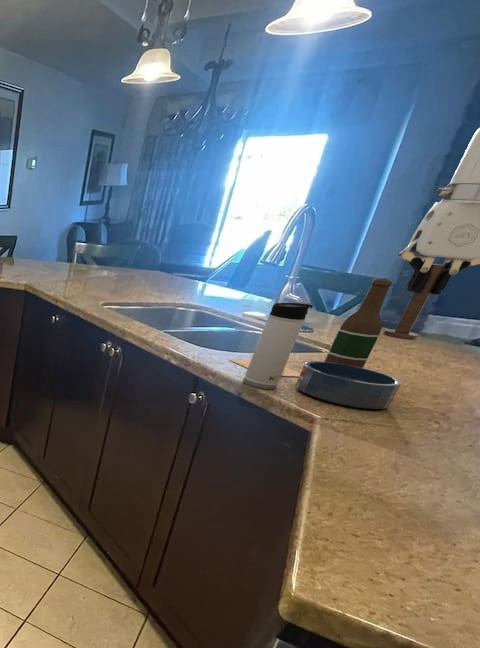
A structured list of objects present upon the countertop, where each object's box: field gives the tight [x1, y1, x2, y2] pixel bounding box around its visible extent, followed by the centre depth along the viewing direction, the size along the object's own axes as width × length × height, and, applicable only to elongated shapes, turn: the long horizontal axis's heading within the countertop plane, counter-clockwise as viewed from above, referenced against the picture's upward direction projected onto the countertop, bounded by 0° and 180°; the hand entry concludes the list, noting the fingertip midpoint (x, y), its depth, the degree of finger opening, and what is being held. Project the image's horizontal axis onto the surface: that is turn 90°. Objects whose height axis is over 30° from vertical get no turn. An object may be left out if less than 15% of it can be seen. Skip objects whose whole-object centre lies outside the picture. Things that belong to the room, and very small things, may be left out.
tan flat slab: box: [229, 359, 301, 377], centre depth 128 cm, size 12×12×4 cm
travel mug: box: [242, 302, 313, 390], centre depth 113 cm, size 6×7×20 cm
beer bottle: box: [324, 278, 393, 368], centre depth 124 cm, size 8×8×24 cm
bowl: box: [294, 360, 402, 410], centre depth 110 cm, size 16×16×6 cm
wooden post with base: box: [382, 263, 445, 341], centre depth 101 cm, size 5×5×15 cm
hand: (422, 291), depth 100 cm, fingers closed on wooden post with base
